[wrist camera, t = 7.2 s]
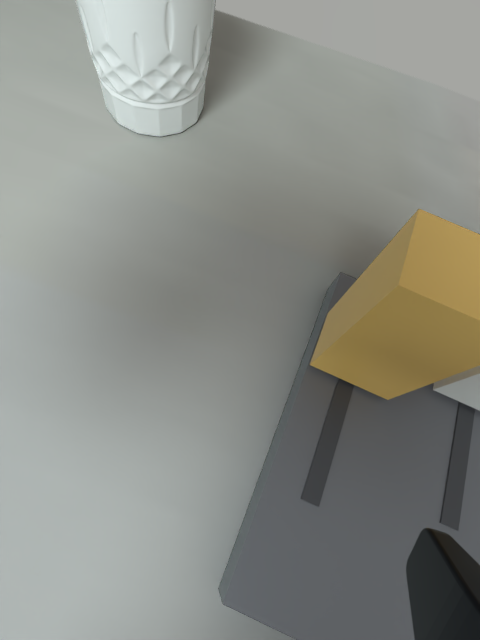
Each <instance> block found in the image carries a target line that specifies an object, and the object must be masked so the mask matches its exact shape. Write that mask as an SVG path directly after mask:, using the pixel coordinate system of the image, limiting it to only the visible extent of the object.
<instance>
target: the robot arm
mask: <svg viewBox="0 0 480 640" xmlns="http://www.w3.org/2000/svg"><path fill="white" fill-rule="evenodd" d="M406 577H407V585H408V593H409V600H410V608H411V616H412V624H413V631H414V639H415V640H480V565H479V564H478V563H477V562H476V561H475V560H474V559H473V558H472V557H471V556H470V555H469V554H468V553H467V552H466V551H465V550H464V549H463V548H462V547H461V546H460V545H459V544H458V543H457V542H456V541H455V540H454V539H453V538H452V537H451V536H450V535H449V534H447V533H445V532H442V531H438V530H435V529H432V528H424V529H423V530H422V531H421V532H420V534H419V536H418V538H417V540H416V542H415V544H414V547H413V549H412V551H411V553H410V555H409V557H408V560H407V564H406Z"/></svg>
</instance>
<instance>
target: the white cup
mask: <svg viewBox="0 0 480 640" xmlns="http://www.w3.org/2000/svg"><path fill="white" fill-rule="evenodd" d="M75 2H76V6H77V9H78V13H79V17H80V20H81V23H82V27H83V30H84V33H85V36H86V39H87V43H88V47H89V51H90V54H91V58H92V61H93V63H94V65H95V68H96V70H97V73H98V77H99V81H100V85H101V89H102V92H103V96H104V100H105V104H106V108H107V110H108V111H109V112H110V114H111V115H112V116H113V117H114V119H115V120H116V121H117V122H118V124H120V125H122V126H124V127H126V128H128V129H130V130H132V131H134V132H136V133H138V134H144V135H151V136H158V137H161V136H167V135H172V134H177V133H181V132H183V131H184V130H186V129H187V128H189V127H190V126H192V125H193V124H195V123H196V122H197V120H198V118H199V116H200V114H201V111H202V109H203V104H204V93H205V81H206V75H207V71H208V65H209V56H210V45H211V39H212V33H213V24H214V13H215V2H216V0H75Z"/></svg>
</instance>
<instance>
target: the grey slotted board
mask: <svg viewBox="0 0 480 640" xmlns="http://www.w3.org/2000/svg"><path fill="white" fill-rule="evenodd" d="M356 280H357V279H356V278H353V277H351V276H349V275H346V274H344V273H342V272H341V273H340V274H339V275H338V277H337V278H336V279H335V281H334V282H333V283H332V284H331V286H330V287H329V288H328V291H327V293H326V296H325V299H324V301H323V304H322V307H321V310H320V312H319V315H318V318H317V321H316V323H315V326H314V329H313V332H312V334H311V337H310V340H309V342H308V345H307V348H306V351H305V353H304V356H303V359H302V362H301V364H300V367H299V370H298V373H297V375H296V378H295V381H294V383H293V386H292V389H291V392H290V394H289V397H288V400H287V403H286V405H285V408H284V411H283V414H282V416H281V419H280V422H279V424H278V427H277V430H276V433H275V435H274V438H273V441H272V444H271V446H270V449H269V452H268V455H267V457H266V460H265V463H264V465H263V468H262V471H261V474H260V476H259V479H258V482H257V485H256V487H255V490H254V493H253V496H252V498H251V501H250V504H249V506H248V509H247V512H246V515H245V517H244V520H243V523H242V526H241V528H240V531H239V534H238V537H237V539H236V542H235V545H234V547H233V550H232V553H231V556H230V558H229V561H228V564H227V567H226V569H225V572H224V575H223V578H222V580H221V583H220V586H219V588H218V590H219V593H220V597H221V600H222V604H223V605H226V606H228V607H230V608H232V609H234V610H236V611H238V612H240V613H242V614H244V615H246V616H248V617H250V618H253V619H255V620H257V621H259V622H261V623H263V624H265V625H267V626H269V627H271V628H273V629H275V630H277V631H280V632H282V633H284V634H286V635H288V636H290V637H292V638H294V639H296V640H415V639H414V631H413V624H412V616H411V608H410V600H409V593H408V585H407V577H406V564H407V560H408V557H409V555H410V553H411V551H412V549H413V547H414V544H415V542H416V540H417V538H418V536H419V534H420V532H421V531H422V530H423V529H424V528H432V529H435V530H438V531H442V532H445V533H447V534H449V535H450V536H451V537H452V538H453V539H454V540H455V541H456V542H457V543H458V544H459V545H460V546H461V547H462V548H463V549H464V550H465V551H466V552H467V553H468V554H469V555H470V556H471V557H472V558H473V559H474V560H475V561H476V562H477V563H478V564H479V565H480V411H479V410H477V409H475V408H472V407H470V406H468V405H466V404H463V403H461V402H459V401H457V400H455V399H452V398H450V397H448V396H446V395H443V394H441V393H439V392H437V391H434V390H433V386H434V383H432V384H429V385H426V386H424V387H421V388H418V389H416V390H413V391H410V392H408V393H405V394H402V395H400V396H397V397H394V398H392V399H389V400H387V399H384V398H382V397H380V396H378V395H376V394H373V393H371V392H369V391H367V390H364V389H362V388H360V387H358V386H355V385H353V384H351V383H349V382H347V381H344V380H342V379H340V378H338V377H335V376H333V375H331V374H329V373H327V372H324V371H322V370H320V369H318V368H315V367H313V366H311V365H310V362H311V359H312V357H313V354H314V351H315V348H316V345H317V342H318V340H319V337H320V334H321V331H322V328H323V326H324V323H325V320H326V317H327V314H328V312H329V311H330V310H331V309H332V308H333V307H334V305H335V304H336V303H337V302H338V301H339V300H340V299H341V297H342V296H343V295H344V294H345V293H346V292H347V291H348V289H349V288H350V287H351V286H352V285H353V284H354V283H355V281H356Z"/></svg>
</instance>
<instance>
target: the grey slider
mask: <svg viewBox="0 0 480 640" xmlns="http://www.w3.org/2000/svg"><path fill="white" fill-rule="evenodd" d="M433 390H434V391H437V392H439V393H441V394H443V395H446V396H448V397H450V398H452V399H455V400H457V401H459V402H461V403H463V404H466V405H468V406H470V407H472V408H475V409H477V410H479V411H480V365H479V366H477V367H474V368H471V369H469V370H466V371H464V372H461V373H458V374H456V375H453V376H450V377H448V378H445V379H442V380H440V381H437V382H434V386H433Z"/></svg>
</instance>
